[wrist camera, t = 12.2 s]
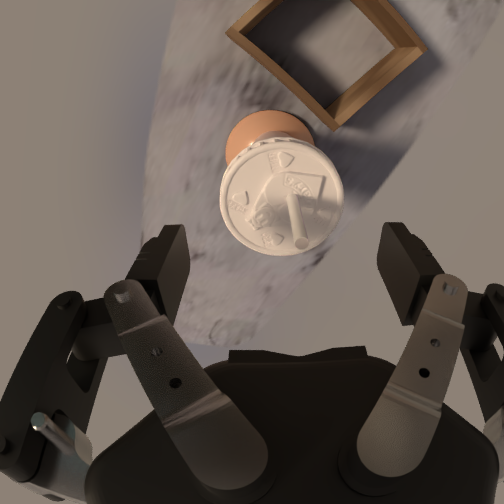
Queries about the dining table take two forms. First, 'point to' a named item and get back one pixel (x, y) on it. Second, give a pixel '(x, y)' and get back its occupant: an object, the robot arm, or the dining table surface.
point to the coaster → (264, 130)
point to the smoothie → (281, 195)
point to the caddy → (361, 91)
